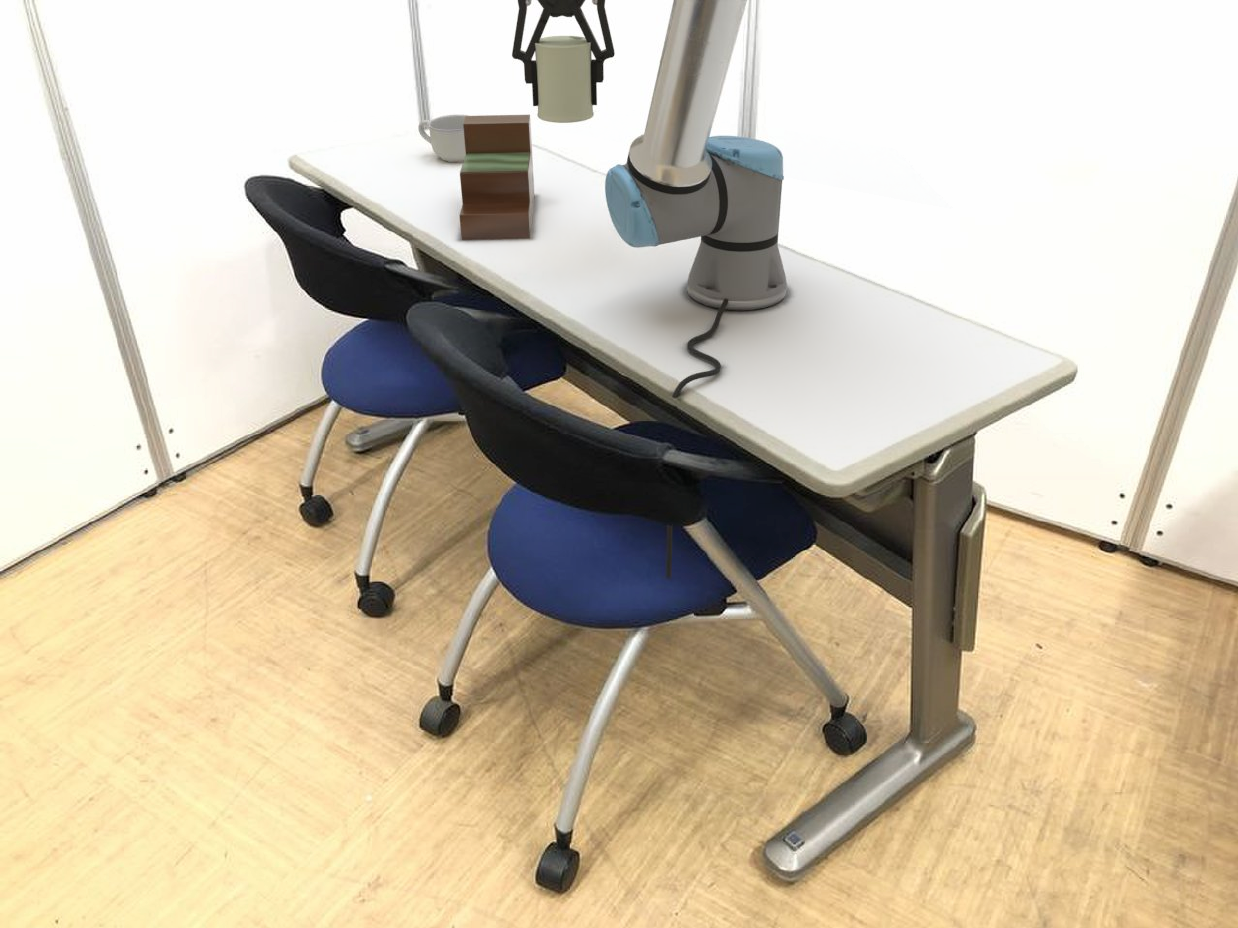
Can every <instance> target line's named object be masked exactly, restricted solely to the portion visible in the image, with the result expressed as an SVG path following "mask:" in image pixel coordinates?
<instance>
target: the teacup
mask: <svg viewBox="0 0 1238 928" xmlns="http://www.w3.org/2000/svg"><path fill="white" fill-rule="evenodd" d="M466 116H470V115H467V114H447V115H442V116H438V117H435V118H433V119H423V120H421V121H420V122H419V124H418V132H419V134H420V137H422V138H423V139H424V140H425V142H427V143H429V145H431V148H432V151H433V153H434V154H435V155H436V156H437V157H438V158H440V159H441V160H442V161H444V162H449V163H461V162H462V163H463V162H464V159H465V155H466V151H465V140H464V128H463V123H464V120H465V118H466ZM425 126H428V128H429V134H427V132H426V131H425Z"/></svg>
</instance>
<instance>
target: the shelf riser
mask: <svg viewBox="0 0 1238 928" xmlns="http://www.w3.org/2000/svg"><path fill="white" fill-rule="evenodd" d="M531 123H532V122H531V114H498V115H497V114H496V115H488V114H487V115H469V116H466V118H465V120H464V123H463V128H464V140H465V151H466V155H465V159H464V161H462V165H461V168H460V172H459V181H460V191H461V201H462V205H461V209H460V212H459V224H460V235H461V241H475V240H477V241H478V240H517V239H518V240H521V239H524V240H525V239H531V235H532V234H531V233H532V224H533V214H534V203H535V179H534V161H533V142H532V140H533V139H532V124H531Z"/></svg>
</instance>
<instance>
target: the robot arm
mask: <svg viewBox="0 0 1238 928" xmlns="http://www.w3.org/2000/svg"><path fill="white" fill-rule="evenodd" d="M537 2H538V3H539V5H540V6H541V8H542V11H541V14H540V16H539V19H538V21H537V23H536V26H535V29H534V30H533V33H532V35H531V37H530V40H529V43H528V45H527V48H526V50H525V51H524V50H522V45H523V37H524V32H525V25H526V18H527V13H528V7H529V6H530V5H531V4H532V0H517V4H518V12H517V17H516V19H517V20H516V25H515V32H514V38H513V46H512V52H511V57H512V59H514V60H518V61H521V63H523V71H524V72H523V73H524V82H525V84H526V85H528V84H529V85H532V86H531V91H532V93H531V94H532V106H533V107H538V94H537V73H536V59H535V60H534V59H533V57H534V55H535V50H536V47H535V43H539V41H540V38H542V36H543V34H544V31H545V29H546V27H547V23H548V22H549V20H550V17H551V18H559V17H565V18H573V17H574V19H575V20H576V23H577V24H578V26H579V28H580V31H581V32H582V34H583V37H585V38H586V40H587V42H588V43H589V42H591V47H590V48H591V54H593V55H592V56H594V59H592V62H591V68H592V105H593V106H597V105H598V90H597V87H598V84H597V83H601V84H602V83H603V82H604V80H605V79H604V78H605V74H604V63H605V61H606V60H607V59H612V58H614V57H615V55H616V54H615V48H614V42H613V38H612V34H611V29H610V24H609V21H608V15H607V10H606V6H605V5H606V0H591V3H592V4H593V5H595V6H596V12H597V15H598V16H597V17H598V20H599V25H600V30H601V34H602V39H603V42H604V47H605V49H601V47H600V45H599V43H598V41H597V39H596V36H595V34H594V32H593V31H592V29H591V26H590V24H589V22H588V20H587V18H586V15H585V14H584V11H583V10H582V6H583V5H584V3H585V2H586V0H537ZM747 3H748V0H673V1H672V6H671V11H670V14H669V18H668V19H669V20H668V24H667V28H666V33H665V37H664V42H663V47H662V51H661V56H660V60H659V66H658V68H657V69H658V70H657V74H656V78H655V83H654V88H653V92H652V96H651V101H650V105H649V110H648V115H647V120H646V124H645V128H644V133H643V134H640V135H639V136H637V137H636V138H635V139H633V141H632V142H631V144H630V146H629V150H628V155H627V159H626V163H625V164H619V163H618V164H616V165H615V166H612V167H611V168H609V170H607V173H606V176H605V181H604V191H605V200H606V205H607V210H608V212H609V216H610V218H611V222H612V224H613V227H614V229H615V231H616V233H617V234H618V235H619V237H620V238H621V239H622V241H623V242H624V243H625V244H627V245H628V246H630V247H633V248H638V249H640V248H649V247H654V248H655V247H658V246H660V245H661V246H662V245H666V244H672V243H676V242H681V241H685V240H690V239H695V238H700V243H699V247H698V249H697V251H696V255H695V257H694V259H693V263H692V266H691V268H690V270H689V274H688V278H687V289H686V290H687V293H688V295H689V296H690V298H691V299H693V300H694V301H696V302H698V303H699V304H702V305H705V306H707V307H709V308H710V307H711V308H714V309H718V311H717V313H716V316H715V319H714V321H713V324H712V325H711V328H710V329H708V330H707V331H706V332H704V333H702V334H699V335H697V336H694V337H692V338H691V339H689V340H688V342H687V343H686V349H687V350H688V352H689V353H690V354H692V355H694V356H695V357H698V358H700V359H703V360H705V361H707V362H709V363H711V364H713V365H714V368H713V369H710V370H706V371H701V372H697V373H693V374H690V375H688V376H687V377H685V378H683V379H682V380H681V381H680V382H679V383H678V384H677V386H676V387H675V389H674V391H673V394H672V398H673V399H677V398H679V396H680V393H681V392H682V390H683V389H684V387H685V386H687V385H688V384H689V383H691V382H693V381H696V380H698V379H703V378H709V377H713V376H715V375H718V373H720V371H721V369H722V365H721V363H720V361H719V360H718V359H716V358H715V357H713V356H711V355H709V354H707V353H705V352H702V351H699V350H698V349H696V348H695V347H694V346H693V345H694V344H696V343H697V342H698V343H699V342H700V341H704V340H705V339H707V338H709V337H711V336H712V335H714V334H715V332H716V331H717V330H718V328H719V325H720V322H721V319H722V316H723V314H724V312H725V310H728V311H752V310H759V309H764V308H768V307H771V306H774V305H777V304H778V303H780V302H781V301H782V300H784V299H785V298H786V295H787V287H788V286H787V285H788V283H787V276H786V272H785V268H784V264H783V260H782V256H781V253H780V249H779V244H778V243H779V231H780V216H781V204H782V203H781V202H782V189H783V181H784V180H785V175H784V156H783V153H782V151H781V150H780V149H779V148H778V147H777V146H775V145H774V144H772V143H770V142H767V141H765V140H760V139H756V138H751V137H745V136H739V135H737V136H736V135H712V136H711V133H712V130H713V129H712V128H713V125H714V121H715V118H716V115H717V111H718V107H719V104H720V99H721V96H722V92H723V89H724V86H725V83H726V82H725V81H726V78H727V75H728V71H729V67H730V64H731V61H732V57H733V54H734V50H735V46H736V42H737V39H738V35H739V32H740V28H741V24H742V21H743V18H744V13H745V10H746V7H747ZM672 561H673V525H672V526H670V525H667V524H666V564H665V565H666V567H665V568H666V569H665V570H666V572H665V578H666V579H667V580H670V579H672V566H673V565H672V564H673V562H672Z"/></svg>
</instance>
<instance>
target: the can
mask: <svg viewBox="0 0 1238 928" xmlns="http://www.w3.org/2000/svg"><path fill="white" fill-rule="evenodd" d="M535 47H536V50H535V52H534V55H535V60H536V73H537V94H538V106H537V113H536V114H537V118H538V119H539V120H541V121H544V122H548V123H557V124H571V123H578V122H579V123H580V122H585V121H587V120H590V119H592V118H593V117H594V114H595V113H594V107H593V106H594V105H592V68H591V62H592V60H593V59H592V51H591V48H590V47H591V42H589V43H588V42H587V40H586V38H585V36H579V35H552V36H546V37H541V38H540V41H539V43H535Z"/></svg>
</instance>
